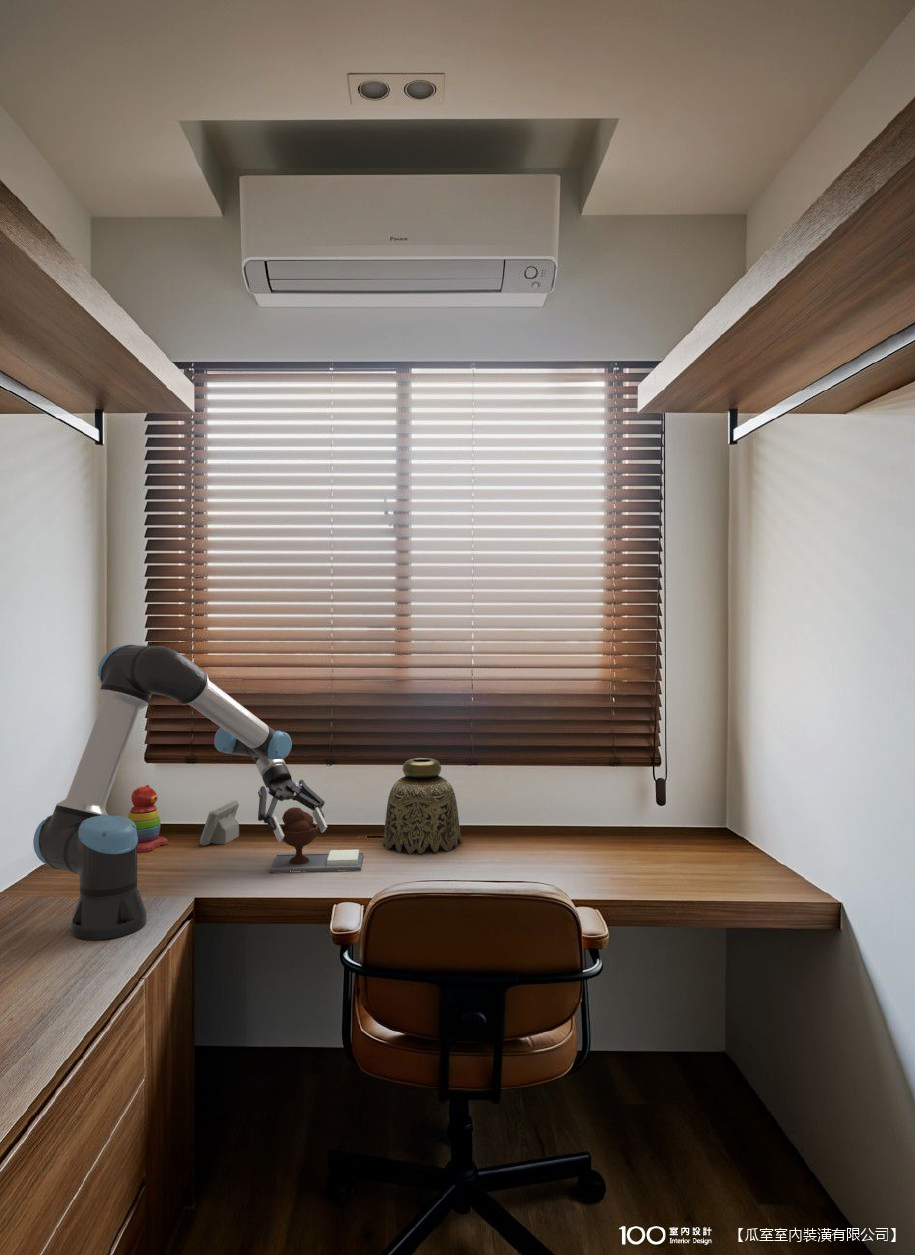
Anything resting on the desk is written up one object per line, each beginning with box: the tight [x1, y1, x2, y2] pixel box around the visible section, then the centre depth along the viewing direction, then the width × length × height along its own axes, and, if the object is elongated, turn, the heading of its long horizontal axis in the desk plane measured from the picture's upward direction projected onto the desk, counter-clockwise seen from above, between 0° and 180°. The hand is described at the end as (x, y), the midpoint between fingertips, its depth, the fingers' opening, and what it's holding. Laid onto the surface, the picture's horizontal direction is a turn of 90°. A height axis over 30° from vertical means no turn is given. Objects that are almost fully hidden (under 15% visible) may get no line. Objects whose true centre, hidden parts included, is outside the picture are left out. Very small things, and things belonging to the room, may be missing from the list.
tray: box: [269, 851, 364, 874], centre depth 220 cm, size 24×13×1 cm, turn 94°
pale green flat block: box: [327, 849, 360, 866], centre depth 221 cm, size 8×10×2 cm
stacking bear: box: [127, 784, 169, 853], centre depth 238 cm, size 11×10×18 cm
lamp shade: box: [382, 757, 462, 855], centre depth 240 cm, size 23×23×25 cm
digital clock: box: [199, 799, 240, 847], centre depth 244 cm, size 16×9×11 cm, turn 157°
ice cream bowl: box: [280, 806, 319, 865], centre depth 220 cm, size 11×11×15 cm
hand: (303, 834), depth 218 cm, fingers open, 13 cm apart
